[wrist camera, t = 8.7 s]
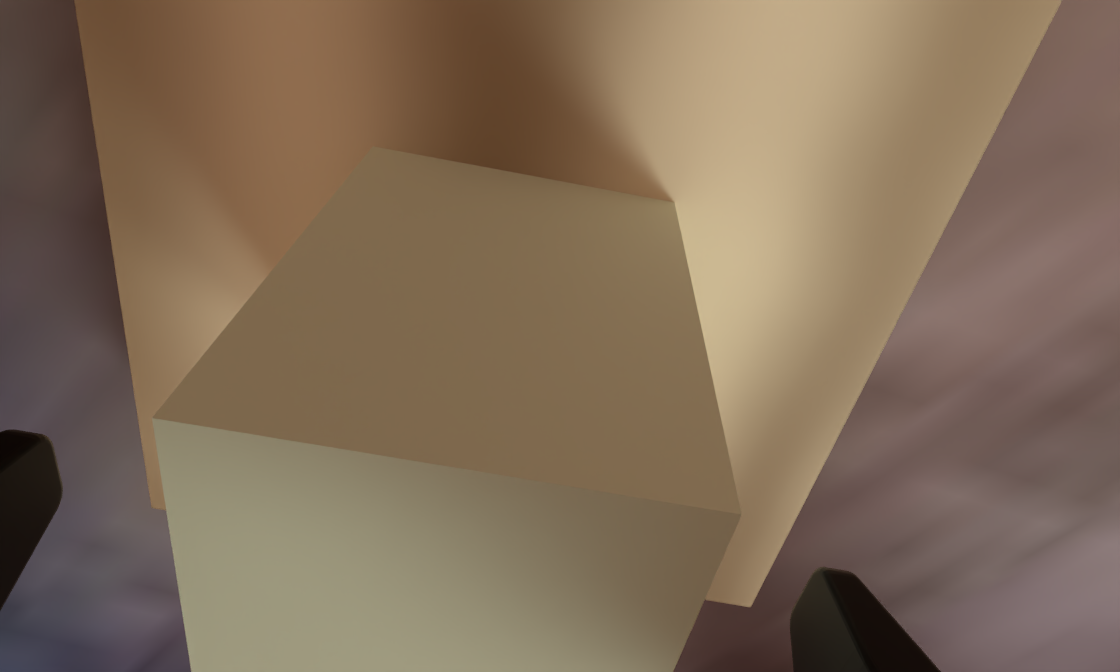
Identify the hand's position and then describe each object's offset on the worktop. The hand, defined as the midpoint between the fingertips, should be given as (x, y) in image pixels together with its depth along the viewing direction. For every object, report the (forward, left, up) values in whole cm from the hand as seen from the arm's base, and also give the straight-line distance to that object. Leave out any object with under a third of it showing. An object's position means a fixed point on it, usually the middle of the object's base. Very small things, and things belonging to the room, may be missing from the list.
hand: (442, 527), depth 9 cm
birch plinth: (0, 0, -8) cm, 9 cm away
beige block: (0, 0, -6) cm, 6 cm away
